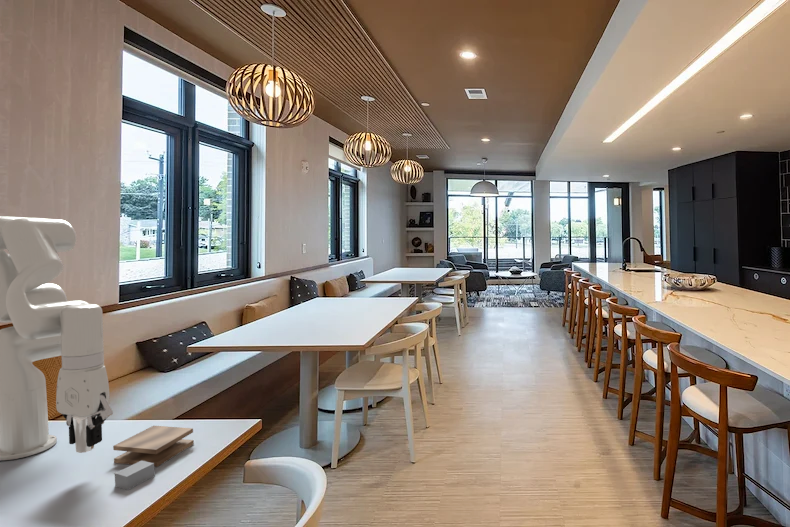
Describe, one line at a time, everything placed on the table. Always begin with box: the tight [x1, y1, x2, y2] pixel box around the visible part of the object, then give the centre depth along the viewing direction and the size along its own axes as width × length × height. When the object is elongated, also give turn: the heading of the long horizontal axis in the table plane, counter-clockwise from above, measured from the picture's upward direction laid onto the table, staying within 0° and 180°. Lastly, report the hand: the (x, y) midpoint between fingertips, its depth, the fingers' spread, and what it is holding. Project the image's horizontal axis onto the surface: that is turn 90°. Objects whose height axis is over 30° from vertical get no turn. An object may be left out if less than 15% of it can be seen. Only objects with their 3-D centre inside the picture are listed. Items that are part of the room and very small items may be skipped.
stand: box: [112, 425, 195, 468], centre depth 106 cm, size 12×12×4 cm
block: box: [114, 460, 155, 491], centre depth 92 cm, size 4×6×3 cm, turn 155°
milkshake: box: [72, 415, 97, 454], centre depth 96 cm, size 4×5×10 cm
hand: (85, 441), depth 96 cm, fingers closed on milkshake, 4 cm apart
